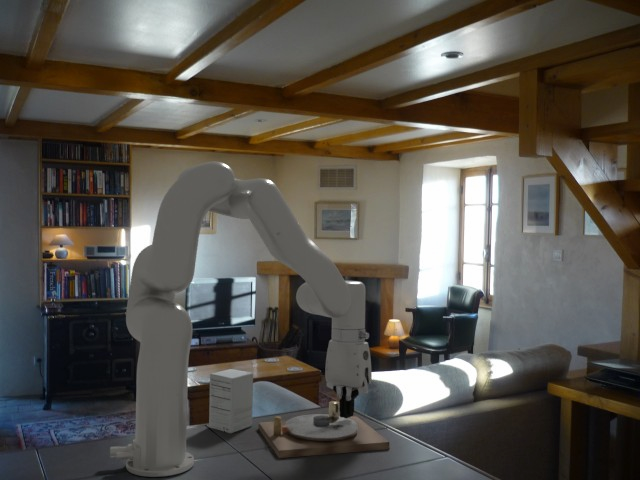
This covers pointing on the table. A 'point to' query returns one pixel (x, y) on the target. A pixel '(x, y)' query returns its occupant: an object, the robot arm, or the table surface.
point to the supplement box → (231, 400)
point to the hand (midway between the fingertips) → (346, 416)
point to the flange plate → (321, 426)
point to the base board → (297, 447)
